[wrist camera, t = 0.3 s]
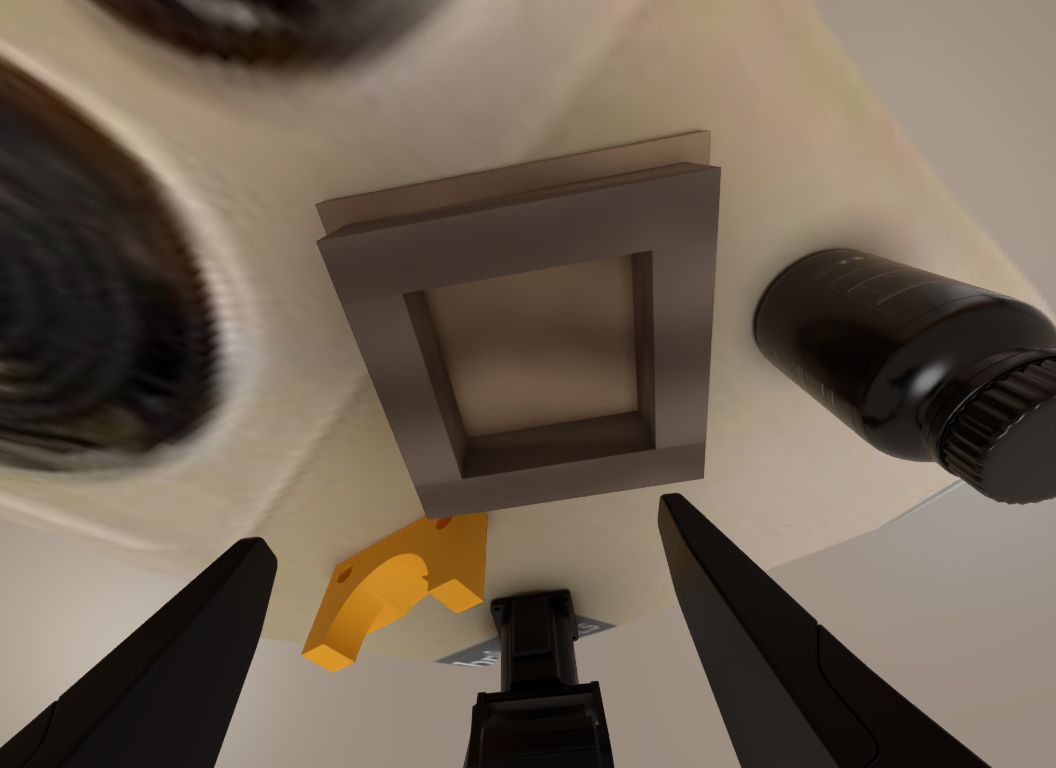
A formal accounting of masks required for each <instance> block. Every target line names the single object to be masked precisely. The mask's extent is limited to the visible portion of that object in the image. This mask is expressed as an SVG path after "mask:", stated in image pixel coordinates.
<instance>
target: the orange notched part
mask: <svg viewBox="0 0 1056 768" xmlns="http://www.w3.org/2000/svg"><path fill="white" fill-rule="evenodd" d="M487 520H488V516H487V515H486V514H484V513H483V512H478V513H472V514H465V515H459V516H452V517H445V518H439V519H432V520H428V519H427V516H425V517H423V518H421V519H419V520H418V521H416V522H414V523H412V524H410V525H409V526H407V527H405V528H403V529H401V530H400V531H398V532H396V533H394V534H392V535H391V536H389V537H387V538H385V539H384V540H382V541H380V542H378V543H376V544H375V545H373V546H371V547H369V548H367V549H366V550H364V551H362V552H360V553H358V554H357V555H355V556H353V557H351V558H349V559H348V560H346V561H344V562H342V563H340V564H339V565H337V566H336V567H335V570H334V572H333V575H332V577H331V580H330V583H329V585H328V588H327V590H326V593H325V595H324V598H323V600H322V603H321V605H320V608H319V610H318V613H317V616H316V618H315V621H314V623H313V626H312V628H311V631H310V633H309V636H308V638H307V641H306V644H305V646H304V649H303V651H302V654H301V655H302V656H303V657H305V658H307V659H309V660H311V661H312V662H314V663H316V664H318V665H320V666H322V667H323V668H325V669H327V670H329V671H331V672H335V671H337V670H340V669H342V668H344V667H346V666H348V665H350V664H352V663H354V662H355V661H356V657H357V654H358V652H359V649H360V647H361V644H362V642H363V640H364V638H365V636H366V634H369V633H371V632H373V631H375V630H377V629H379V628H381V627H383V626H385V625H387V624H389V623H391V622H393V621H395V620H397V619H399V618H401V617H403V616H405V614H406V613H407V612H408V611H409V610H410V609H411V608H412V607H413V606H414V605H415V604H416V603H417V602H419V601H420V600H421V599H422V598H424V597H425V596H427V595H428V594H431V595H432V596H433V597H435V598H436V599H437V600H439V601H440V602H441V603H443V604H444V605H445V606H447V607H448V608H449V609H451V610H452V611H453V612H455V613H456V614H458V613H460V612H462V611H464V610H466V609H469V608H471V607H473V606H475V605H477V604H479V603H481V602H483V601H484V582H485V561H486V540H487Z"/></svg>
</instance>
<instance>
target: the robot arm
mask: <svg viewBox="0 0 1056 768" xmlns="http://www.w3.org/2000/svg"><path fill="white" fill-rule="evenodd" d="M658 527H659V531H660V535H661V539H662V543H663V546H664V550H665V554H666V558H667V562H668V566H669V570H670V574H671V577H672V581H673V585H674V589H675V592H676V596H677V599H678V601H679V604H680V607H681V610H682V612H683V615H684V618H685V620H686V623H687V625H688V628H689V631H690V633H691V636H692V638H693V641H694V644H695V647H696V649H697V652H698V655H699V657H700V660H701V662H702V665H703V668H704V670H705V673H706V676H707V678H708V681H709V683H710V686H711V689H712V692H713V694H714V697H715V699H716V702H717V705H718V707H719V710H720V713H721V715H722V718H723V721H724V723H725V726H726V728H727V731H728V734H729V736H730V739H731V742H732V744H733V747H734V749H735V752H736V755H737V757H738V760H739V763H740V765H741V768H992V767H991V766H989V765H988V764H987V763H985V762H984V761H983V760H982V759H980V758H979V757H978V756H977V755H976V754H974V753H973V752H972V751H971V750H969V749H968V748H967V747H966V746H964V745H963V744H962V743H961V742H959V741H958V740H957V739H956V738H954V737H953V736H952V735H951V734H949V733H948V732H947V731H946V730H944V729H943V728H942V727H941V726H939V725H938V724H937V723H936V722H934V721H933V720H932V719H931V718H929V717H928V716H927V715H926V714H925V713H923V712H922V711H921V710H920V709H918V708H917V707H916V706H915V705H913V704H912V703H911V702H910V701H908V700H907V699H906V698H905V697H903V696H902V695H901V694H900V693H899V692H897V691H896V690H895V689H894V688H892V687H891V686H890V685H889V684H888V683H887V682H885V681H884V680H883V679H882V678H880V677H879V676H878V675H877V674H876V673H874V672H873V671H872V670H871V669H870V668H868V667H867V666H866V665H865V664H864V663H863V662H862V661H861V660H860V659H858V658H857V657H856V656H855V655H854V654H853V653H852V652H850V651H849V650H848V649H847V648H846V647H845V646H844V645H843V644H842V643H841V642H839V641H838V640H837V639H836V638H835V637H834V636H833V635H832V634H831V633H830V632H829V631H828V630H827V629H825V628H824V627H823V626H822V625H820V624H819V625H818V622H817V620H816V619H815V618H813V617H812V616H811V615H810V614H809V613H808V612H807V611H806V610H805V609H804V608H803V607H802V606H801V605H799V604H798V603H797V602H796V601H795V600H794V599H793V598H792V597H791V596H790V595H789V594H788V593H787V592H785V591H784V590H783V589H782V588H781V587H780V586H779V585H778V584H777V583H776V582H775V581H774V580H773V579H772V578H770V577H769V576H768V575H767V574H766V573H765V572H764V571H763V570H762V569H761V568H760V567H759V566H758V565H757V564H755V563H754V562H753V561H752V560H751V559H750V558H749V557H748V556H747V555H746V554H745V553H744V552H743V551H741V550H740V549H739V548H738V547H737V546H736V545H735V544H734V543H733V542H732V541H731V540H730V539H729V538H728V537H726V536H725V535H724V534H723V533H722V532H721V531H720V530H719V529H718V528H717V527H716V526H715V525H714V524H712V523H711V522H710V521H709V520H708V519H707V518H706V517H705V516H704V515H703V514H702V513H701V512H700V511H699V510H697V509H696V508H695V507H694V506H693V505H692V504H691V503H690V502H689V501H688V500H687V499H686V498H685V497H683V496H682V495H681V494H679V493H672V494H663V495H662V496H661V497H660V502H659V511H658ZM276 571H277V558H276V556H275V555H274V553H273V552H272V550H271V549H270V548H269V546H268V545H267V543H266V542H265V540H264V539H263V538H261V537H250V538H243V539H240V540H239V541H237V542H236V543H235V544H234V545H233V546H231V547H230V548H229V549H228V550H227V551H226V552H225V553H223V554H222V555H221V556H220V557H219V558H218V559H217V560H215V561H214V562H213V563H212V564H211V565H210V566H209V567H207V568H206V569H205V570H204V571H203V572H202V573H201V574H199V575H198V576H197V577H196V578H195V579H194V580H193V581H191V582H190V583H189V584H188V585H187V586H186V587H185V588H183V589H182V590H181V591H180V592H179V593H178V594H177V595H175V596H174V597H173V598H172V599H171V600H170V601H169V602H167V603H166V604H165V605H164V606H163V607H162V608H161V609H160V610H159V611H157V612H156V613H155V614H154V615H153V616H152V617H150V618H149V619H148V620H147V621H146V622H145V623H144V624H142V625H141V626H140V627H139V628H138V629H137V630H135V631H134V632H133V633H132V634H131V635H130V636H129V637H127V638H126V639H125V640H124V641H123V642H122V643H121V644H119V645H118V646H117V647H116V648H115V649H114V650H113V651H112V652H110V653H109V654H108V655H107V656H106V657H104V658H103V659H102V660H101V661H100V662H99V663H98V664H96V665H95V666H94V667H93V668H92V669H91V670H90V671H88V672H87V673H86V674H85V675H84V676H83V677H82V678H80V679H79V680H78V681H77V682H76V683H75V684H74V685H73V686H71V687H70V688H69V689H68V690H67V691H66V692H64V693H63V694H62V695H61V696H60V697H59V699H58V701H54V702H53V703H52V704H51V705H50V706H48V707H47V708H46V709H45V710H44V711H43V712H41V714H39V715H38V716H37V717H36V718H35V719H34V720H32V721H31V722H30V723H29V724H28V725H27V726H25V727H24V728H23V729H22V730H21V731H19V732H18V733H17V734H16V735H15V736H14V737H12V738H11V739H10V740H9V741H8V742H7V743H5V744H4V745H3V746H2V747H1V748H0V768H214V766H215V763H216V761H217V758H218V755H219V752H220V749H221V746H222V743H223V741H224V738H225V735H226V732H227V729H228V727H229V723H230V721H231V718H232V715H233V713H234V710H235V707H236V704H237V701H238V698H239V695H240V693H241V689H242V687H243V684H244V681H245V679H246V676H247V673H248V670H249V667H250V664H251V661H252V659H253V656H254V653H255V650H256V647H257V644H258V641H259V638H260V635H261V631H262V628H263V624H264V620H265V616H266V612H267V608H268V604H269V600H270V596H271V591H272V587H273V583H274V579H275V575H276ZM490 610H491V613H492V616H493V619H494V622H495V625H496V628H497V630H498V633H499V636H500V639H501V692H495V693H486V692H480V693H478V696H477V704H476V705H475V706H473V708H472V725H471V734H470V740H469V744H468V749H467V753H466V757H465V762H464V766H463V768H614V762H613V756H612V750H611V744H610V739H609V733H608V728H607V723H606V718H605V713H604V708H603V703H602V698H601V692H600V687H599V682H598V681H592V682H591V683H588V684H579V682H578V674H577V667H576V659H575V651H574V644H573V642H574V641H577V640H578V638H579V637H578V630H577V625H576V620H575V614H574V609H573V604H572V598H571V594H570V592H568V591H561V592H554V593H547V594H540V595H533V596H526V597H519V598H512V599H505V600H498V601H493V602H491V605H490Z"/></svg>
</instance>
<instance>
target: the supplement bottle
mask: <svg viewBox="0 0 1056 768" xmlns="http://www.w3.org/2000/svg"><path fill="white" fill-rule="evenodd" d="M756 335H757V340H758V344H759V346H760V349H761V351H762V352H763V354H764V355H765V357H766V358H767V359H768V360H769V361H770V362H771V363H772V364H773V365H775V366H776V367H777V368H778V369H779V370H780V371H781V372H783V373H784V374H785V375H786V376H787V377H789V378H790V379H791V380H792V381H793V382H795V383H796V384H797V385H798V386H800V387H801V388H802V389H803V390H804V391H806V392H807V393H808V394H809V395H810V396H812V397H813V398H814V399H815V400H816V401H818V402H819V403H820V404H821V405H822V406H824V407H825V408H826V409H827V410H829V411H830V412H831V413H832V414H833V415H835V416H836V417H837V418H838V419H839V420H841V421H842V422H843V423H844V424H845V425H847V426H848V427H849V428H850V429H852V430H853V431H854V432H855V433H856V434H858V435H859V436H860V437H861V438H862V439H864V440H865V441H866V442H868V443H869V444H870V445H872V446H873V447H874V448H876V449H877V450H879V451H881V452H883V453H885V454H887V455H890V456H892V457H896V458H899V459H903V460H909V461H916V462H936V463H937V464H939V465H940V466H941V467H942V468H944V469H945V470H946V471H948V472H949V473H951V474H953V475H955V476H957V477H960V478H961V479H962V480H964V481H965V482H966V483H968V484H969V485H971V486H972V487H973V488H975V489H976V490H977V491H979V492H980V493H982V494H983V495H985V496H986V497H988V498H992V499H993V500H995V501H997V502H1006V503H1008V504H1016V503H1018V504H1022V505H1023V504H1027V503H1031V502H1032V503H1037V502H1040V501H1043V500H1048V499H1053V498H1055V497H1056V325H1055V324H1054V323H1053V322H1052V320H1051V319H1050V318H1049V317H1048V316H1047V315H1046V314H1045V313H1043V312H1042V311H1041V310H1039V309H1038V308H1036V307H1034V306H1033V305H1030V304H1028V303H1025V302H1023V301H1020V300H1017V299H1015V298H1012V297H1009V296H1006V295H1002V294H999V293H996V292H993V291H989V290H986V289H983V288H980V287H976V286H973V285H970V284H967V283H963V282H960V281H957V280H954V279H950V278H947V277H944V276H940V275H937V274H934V273H931V272H927V271H924V270H921V269H918V268H914V267H911V266H908V265H905V264H901V263H898V262H895V261H891V260H888V259H885V258H882V257H878V256H875V255H871V254H868V253H864V252H860V251H855V250H832V251H827V252H823V253H819V254H817V255H814V256H812V257H809V258H807V259H805V260H803V261H802V262H800V263H798V264H797V265H795V266H794V267H792V268H791V269H790V270H788V271H787V272H786V273H785V274H784V275H782V276H781V277H780V278H779V280H778V281H777V282H776V283H775V284H774V285H773V286H772V288H771V289H770V291H769V292H768V293H767V295H766V297H765V299H764V301H763V303H762V305H761V307H760V310H759V313H758V317H757V324H756Z"/></svg>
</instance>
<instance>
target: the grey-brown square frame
mask: <svg viewBox="0 0 1056 768" xmlns="http://www.w3.org/2000/svg"><path fill="white" fill-rule="evenodd" d="M710 134H711V131H697V132H691V133H686V134H681V135H675V136H670V137H665V138H659V139H654V140H649V141H643V142H638V143H633V144H627V145H622V146H617V147H611V148H606V149H601V150H595V151H590V152H585V153H579V154H574V155H569V156H563V157H558V158H552V159H547V160H542V161H536V162H531V163H526V164H520V165H515V166H510V167H504V168H499V169H494V170H488V171H483V172H478V173H472V174H467V175H462V176H456V177H451V178H446V179H440V180H435V181H430V182H424V183H419V184H414V185H408V186H403V187H398V188H392V189H387V190H382V191H376V192H371V193H366V194H360V195H355V196H349V197H344V198H339V199H333V200H328V201H323V202H321V203H318V204H315V205H316V208H317V210H318V213H319V215H320V218H321V221H322V223H323V226H324V228H325V231H326V234H327V236H325V237H323V238H322V239H320V240H318V241H316V242H317V245H318V247H319V250H320V252H321V255H322V257H323V260H324V262H325V265H326V267H327V269H328V272H329V274H330V277H331V279H332V282H333V284H334V287H335V289H336V292H337V294H338V297H339V299H340V302H341V304H342V307H343V309H344V312H345V314H346V317H347V319H348V322H349V324H350V327H351V329H352V332H353V334H354V337H355V339H356V342H357V344H358V347H359V349H360V352H361V354H362V357H363V359H364V362H365V364H366V367H367V369H368V372H369V374H370V377H371V379H372V382H373V384H374V387H375V389H376V392H377V394H378V397H379V399H380V402H381V404H382V407H383V409H384V411H385V414H386V416H387V419H388V421H389V424H390V426H391V429H392V431H393V434H394V436H395V439H396V441H397V444H398V446H399V449H400V451H401V454H402V456H403V459H404V461H405V464H406V466H407V469H408V471H409V474H410V476H411V479H412V481H413V484H414V486H415V489H416V491H417V494H418V496H419V499H420V501H421V504H422V506H423V509H424V511H425V514H426V516H427V519H428V520H432V519H439V518H445V517H452V516H459V515H465V514H472V513H478V512H485V511H492V510H498V509H505V508H511V507H518V506H525V505H531V504H538V503H544V502H551V501H558V500H564V499H571V498H578V497H584V496H591V495H597V494H604V493H611V492H617V491H624V490H630V489H637V488H644V487H650V486H657V485H663V484H670V483H677V482H683V481H690V480H696V479H703V478H704V464H705V446H706V429H707V411H708V393H709V375H710V357H711V339H712V321H713V303H714V285H715V267H716V249H717V231H718V214H719V196H720V178H721V167H715V166H709V158H710Z"/></svg>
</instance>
